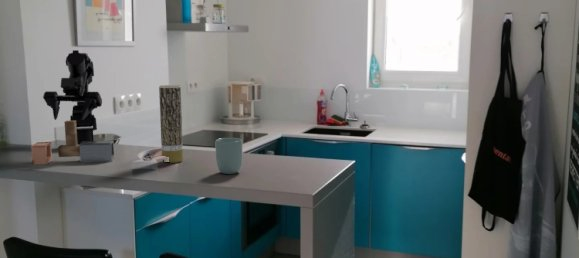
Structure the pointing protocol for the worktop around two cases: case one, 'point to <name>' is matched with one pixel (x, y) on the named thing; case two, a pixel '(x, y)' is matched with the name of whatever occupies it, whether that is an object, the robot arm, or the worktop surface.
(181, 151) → the speckled tall cylinder
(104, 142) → the sleeve
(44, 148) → the light brown block
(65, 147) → the wooden l-shaped block
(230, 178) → the worktop surface
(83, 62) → the robot arm
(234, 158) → the cup
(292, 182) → the worktop surface
